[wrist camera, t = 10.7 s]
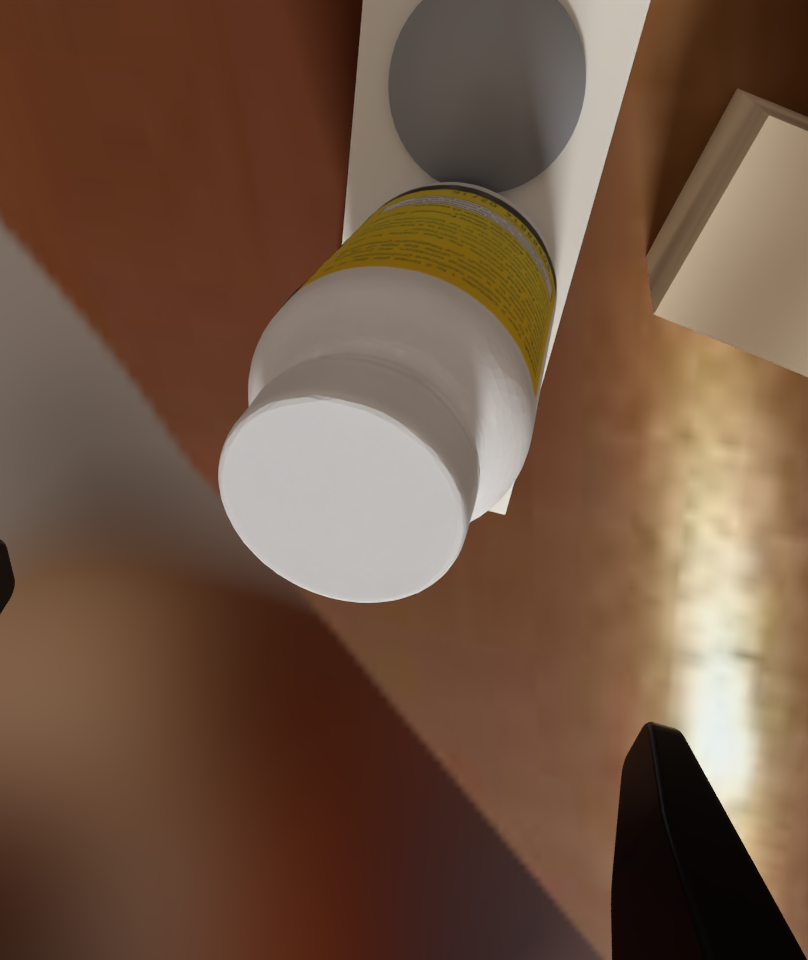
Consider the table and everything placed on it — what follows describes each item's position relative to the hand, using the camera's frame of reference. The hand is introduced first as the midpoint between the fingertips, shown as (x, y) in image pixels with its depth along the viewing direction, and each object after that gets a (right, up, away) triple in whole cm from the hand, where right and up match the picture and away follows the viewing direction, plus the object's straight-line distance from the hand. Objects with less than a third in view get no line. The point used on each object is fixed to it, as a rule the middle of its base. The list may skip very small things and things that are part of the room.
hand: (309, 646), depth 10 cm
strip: (+3, +8, +10) cm, 13 cm away
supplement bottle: (+3, +7, +9) cm, 12 cm away
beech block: (+10, +9, +7) cm, 15 cm away
